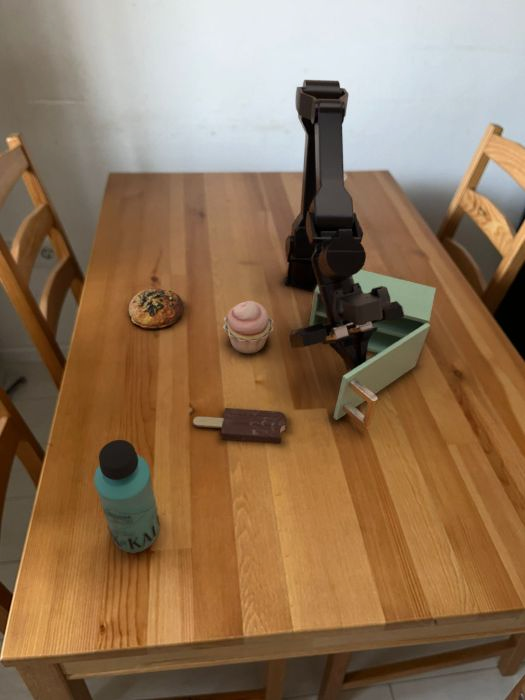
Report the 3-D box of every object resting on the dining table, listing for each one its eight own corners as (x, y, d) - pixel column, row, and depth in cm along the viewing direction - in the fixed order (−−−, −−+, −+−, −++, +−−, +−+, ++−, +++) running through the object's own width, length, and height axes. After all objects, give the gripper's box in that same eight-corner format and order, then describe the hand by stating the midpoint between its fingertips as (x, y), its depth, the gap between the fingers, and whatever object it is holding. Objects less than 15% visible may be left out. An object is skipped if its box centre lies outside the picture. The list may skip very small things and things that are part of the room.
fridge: (413, 363, 95) (429, 320, 88) (307, 334, 100) (314, 291, 92) (420, 329, 102) (436, 287, 95) (321, 303, 107) (328, 261, 99)
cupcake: (248, 319, 102) (249, 279, 95) (282, 343, 97) (286, 303, 90) (212, 341, 97) (211, 300, 90) (246, 367, 93) (247, 326, 86)
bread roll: (196, 311, 103) (191, 292, 99) (153, 343, 98) (146, 325, 94) (161, 288, 108) (155, 269, 104) (118, 317, 103) (111, 299, 99)
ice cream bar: (191, 437, 81) (285, 444, 81) (190, 431, 80) (286, 437, 80) (195, 411, 85) (285, 417, 85) (195, 405, 84) (286, 411, 84)
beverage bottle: (116, 515, 72) (88, 429, 57) (164, 512, 72) (148, 426, 58) (110, 561, 67) (79, 480, 53) (161, 558, 68) (144, 477, 53)
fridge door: (437, 383, 92) (455, 341, 85) (358, 440, 82) (371, 399, 75) (411, 363, 95) (426, 322, 88) (333, 417, 85) (342, 375, 78)
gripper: (305, 288, 72) (334, 394, 73) (412, 260, 78) (438, 358, 79) (277, 299, 83) (302, 391, 83) (373, 273, 89) (396, 359, 90)
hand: (360, 375), depth 84 cm, fingers closed
